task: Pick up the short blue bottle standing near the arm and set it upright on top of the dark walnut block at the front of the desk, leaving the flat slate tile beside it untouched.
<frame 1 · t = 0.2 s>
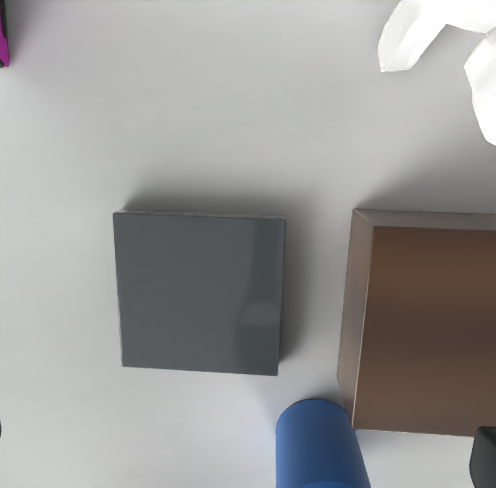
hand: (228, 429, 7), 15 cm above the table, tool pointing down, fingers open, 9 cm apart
blue bottle: (314, 432, 24), on the table
walnut block: (435, 301, 22), on the table
slate tile: (202, 290, 22), on the table
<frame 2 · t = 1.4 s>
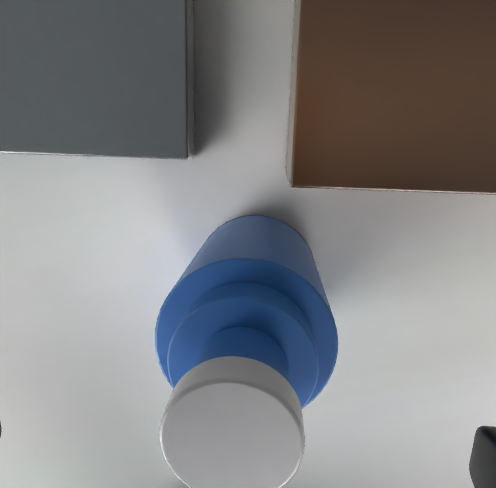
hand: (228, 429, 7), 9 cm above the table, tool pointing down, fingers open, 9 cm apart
blue bottle: (255, 272, 16), on the table
walnut block: (439, 31, 13), on the table
slate tile: (70, 26, 14), on the table
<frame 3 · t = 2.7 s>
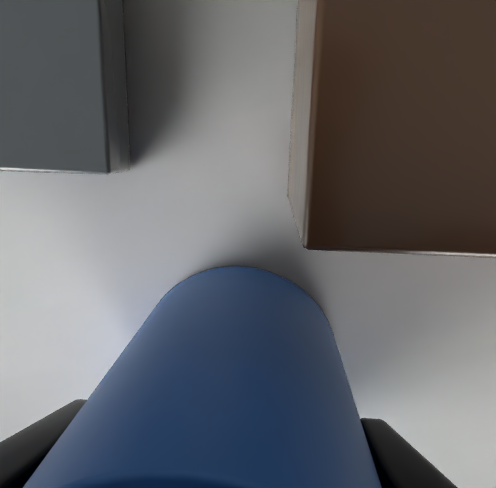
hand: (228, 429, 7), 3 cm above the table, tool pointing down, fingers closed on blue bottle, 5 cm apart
blue bottle: (238, 357, 10), on the table, touching gripper
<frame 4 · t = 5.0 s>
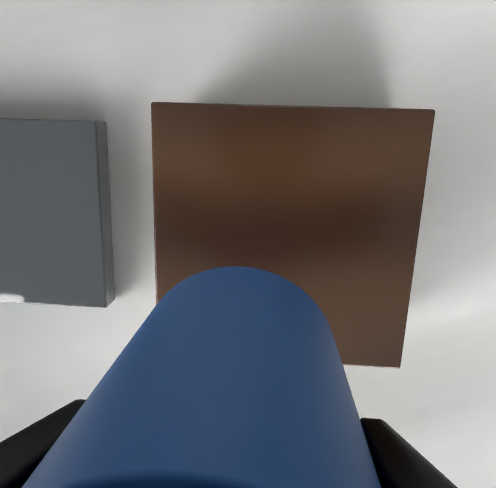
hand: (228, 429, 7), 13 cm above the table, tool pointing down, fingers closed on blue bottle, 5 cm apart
blue bottle: (238, 357, 10), point 10 cm above the table, touching gripper
walnut block: (280, 222, 19), on the table
slate tile: (24, 212, 20), on the table
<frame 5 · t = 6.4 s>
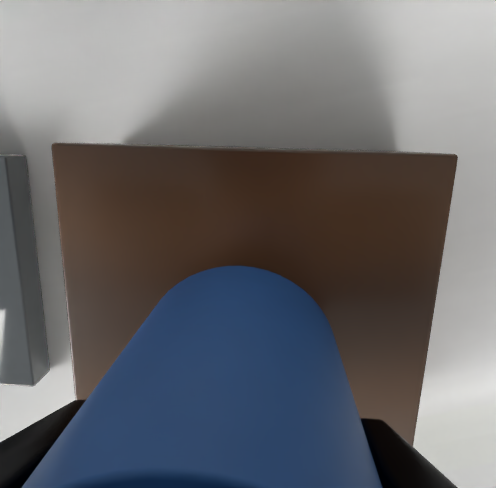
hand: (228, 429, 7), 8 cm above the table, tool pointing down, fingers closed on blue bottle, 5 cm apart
blue bottle: (238, 357, 10), point 6 cm above the table, touching gripper
walnut block: (252, 280, 15), on the table
when the fingers open (7 cm above the table, at t = 7.2 s): blue bottle stays where it is, resting on walnut block.
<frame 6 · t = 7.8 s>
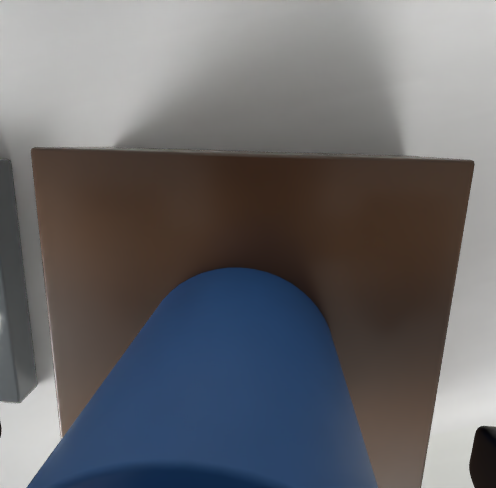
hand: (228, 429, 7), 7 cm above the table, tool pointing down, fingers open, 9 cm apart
blue bottle: (238, 356, 10), point 4 cm above the table, touching walnut block
walnut block: (250, 291, 14), on the table
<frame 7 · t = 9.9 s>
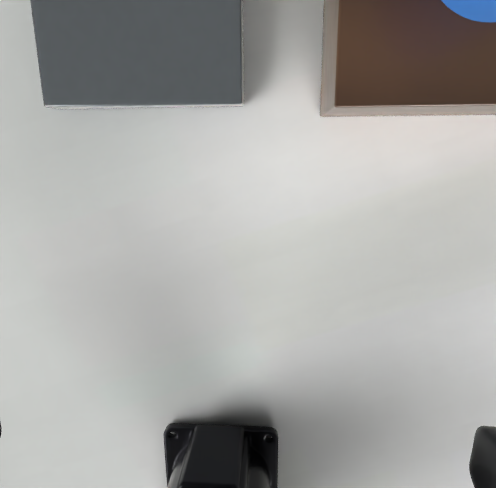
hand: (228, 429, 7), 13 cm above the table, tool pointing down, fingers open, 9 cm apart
slate tile: (142, 1, 17), on the table
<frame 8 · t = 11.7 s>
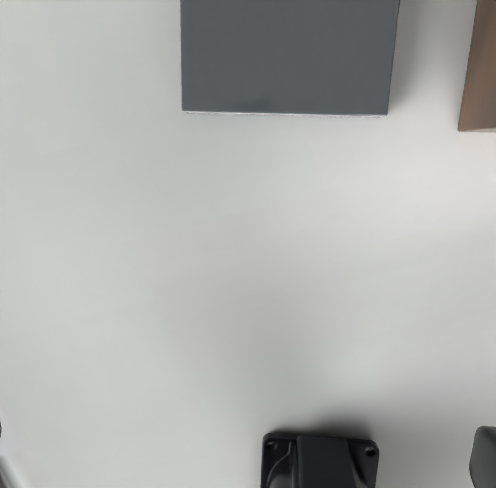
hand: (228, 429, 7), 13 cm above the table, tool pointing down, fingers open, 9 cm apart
slate tile: (287, 8, 17), on the table
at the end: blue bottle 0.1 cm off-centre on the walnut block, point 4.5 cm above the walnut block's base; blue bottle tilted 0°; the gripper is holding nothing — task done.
